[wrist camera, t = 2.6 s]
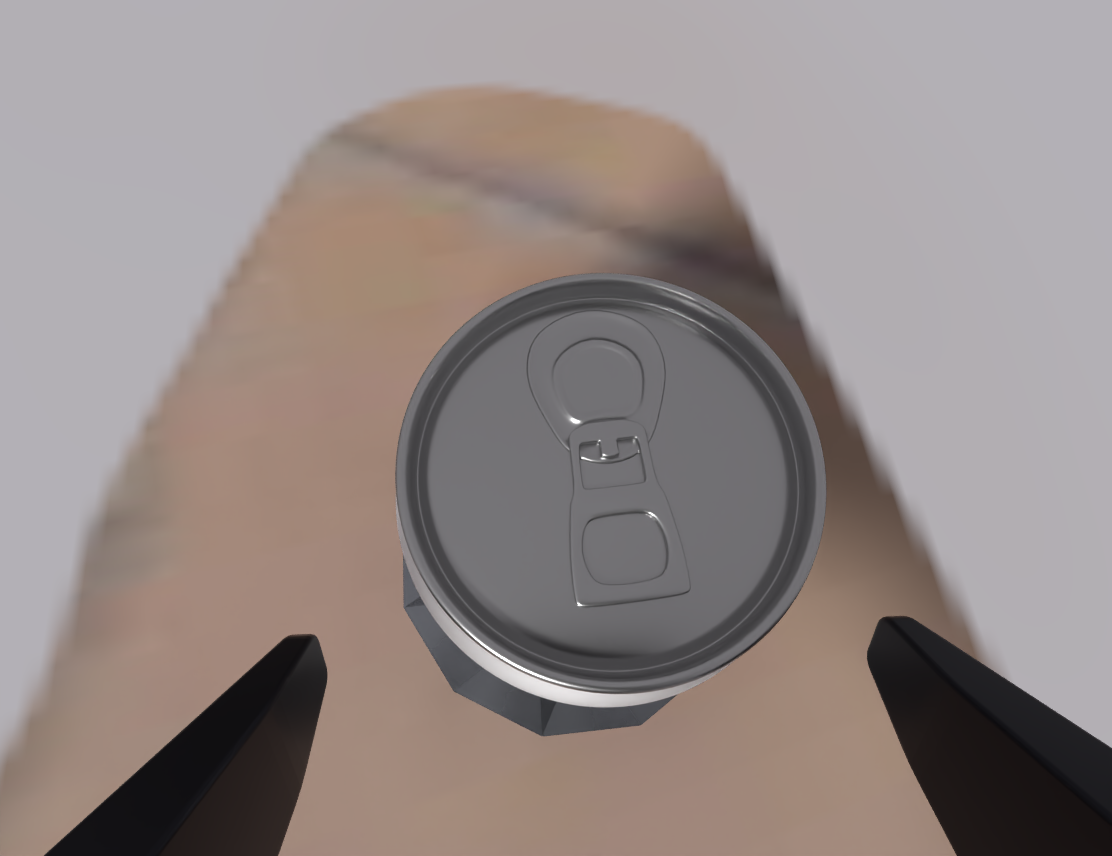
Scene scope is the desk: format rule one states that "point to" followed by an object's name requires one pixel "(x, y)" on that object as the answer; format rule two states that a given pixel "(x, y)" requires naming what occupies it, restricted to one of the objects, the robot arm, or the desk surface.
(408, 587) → the collar
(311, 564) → the desk surface
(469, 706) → the desk surface
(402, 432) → the can
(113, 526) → the desk surface
